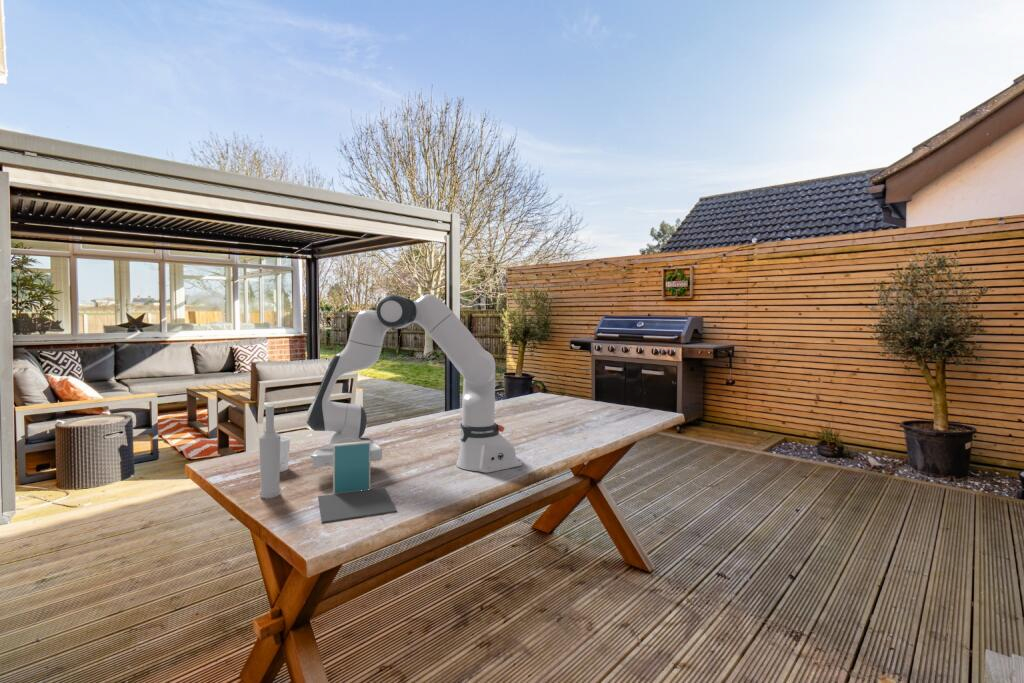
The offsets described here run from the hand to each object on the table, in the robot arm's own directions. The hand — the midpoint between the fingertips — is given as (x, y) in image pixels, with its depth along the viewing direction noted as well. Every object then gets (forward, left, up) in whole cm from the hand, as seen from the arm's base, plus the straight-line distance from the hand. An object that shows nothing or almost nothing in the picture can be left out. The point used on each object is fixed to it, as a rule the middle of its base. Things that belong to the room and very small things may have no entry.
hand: (350, 462), depth 140 cm
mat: (0, +15, -7) cm, 16 cm away
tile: (0, +4, -7) cm, 8 cm away
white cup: (+20, -24, -7) cm, 32 cm away
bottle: (+21, 0, -7) cm, 22 cm away
